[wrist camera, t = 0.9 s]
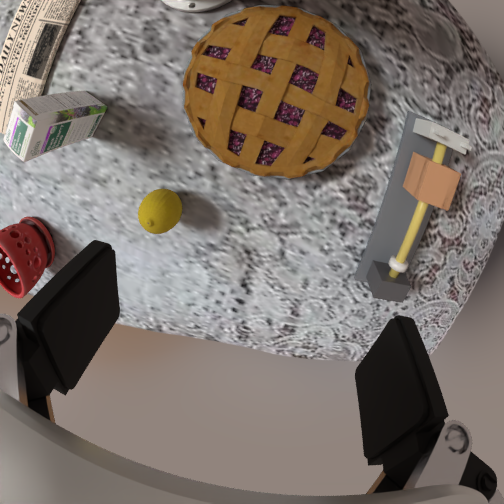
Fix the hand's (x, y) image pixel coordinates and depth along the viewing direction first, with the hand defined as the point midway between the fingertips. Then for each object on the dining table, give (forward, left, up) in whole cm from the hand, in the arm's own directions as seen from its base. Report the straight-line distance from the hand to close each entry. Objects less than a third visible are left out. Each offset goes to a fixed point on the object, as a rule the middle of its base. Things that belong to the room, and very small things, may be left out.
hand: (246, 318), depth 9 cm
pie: (-8, -1, -30) cm, 31 cm away
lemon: (+10, -13, -30) cm, 34 cm away
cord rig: (+3, +20, -30) cm, 36 cm away
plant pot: (+22, -44, -30) cm, 58 cm away
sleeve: (-2, +20, -28) cm, 34 cm away
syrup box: (-3, -28, -30) cm, 41 cm away
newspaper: (-18, -45, -30) cm, 57 cm away
